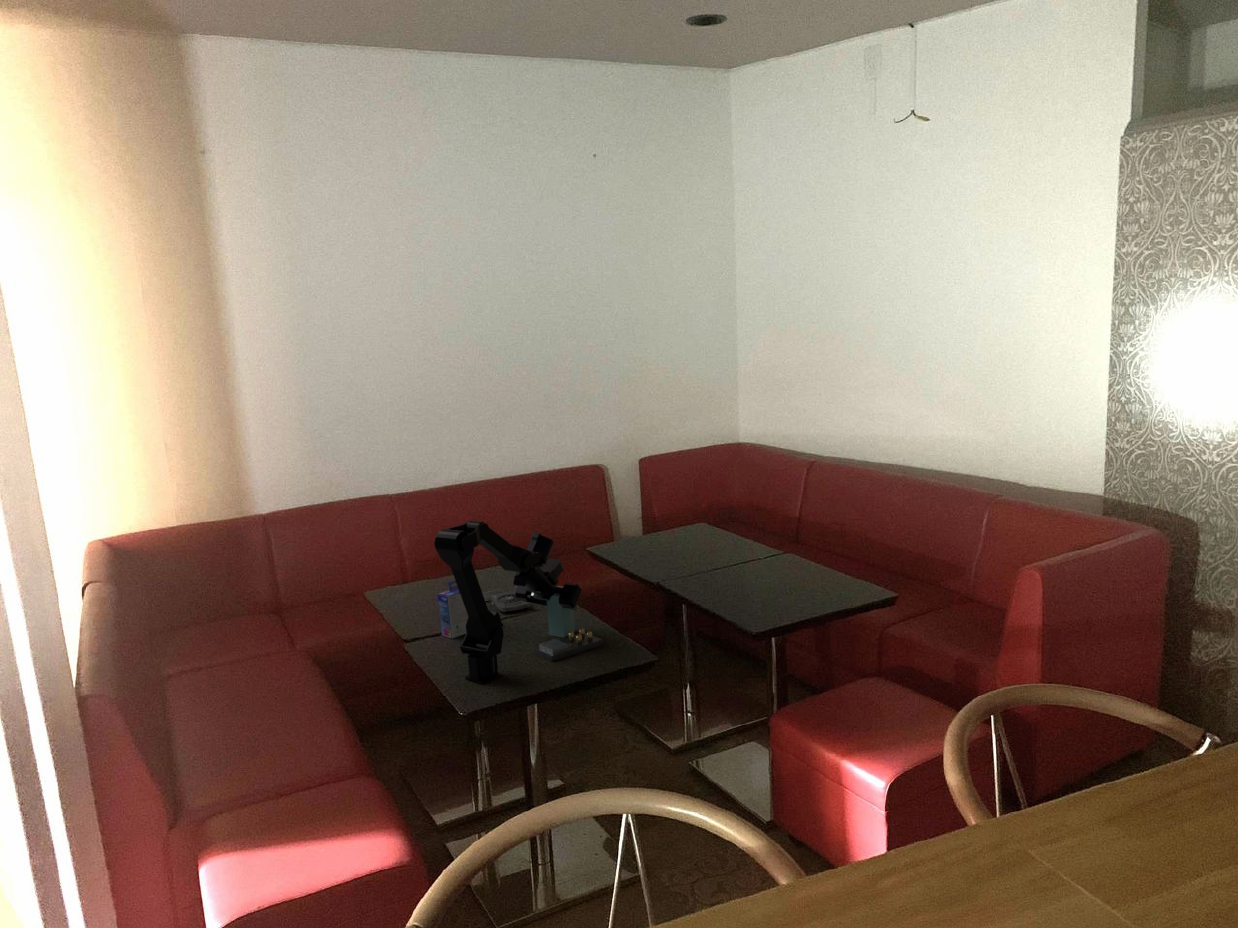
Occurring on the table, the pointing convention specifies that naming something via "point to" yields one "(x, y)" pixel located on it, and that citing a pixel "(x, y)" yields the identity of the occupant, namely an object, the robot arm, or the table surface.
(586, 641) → the chassis
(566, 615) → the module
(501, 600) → the graphics card
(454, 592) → the ink cartridge box
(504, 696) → the table surface
